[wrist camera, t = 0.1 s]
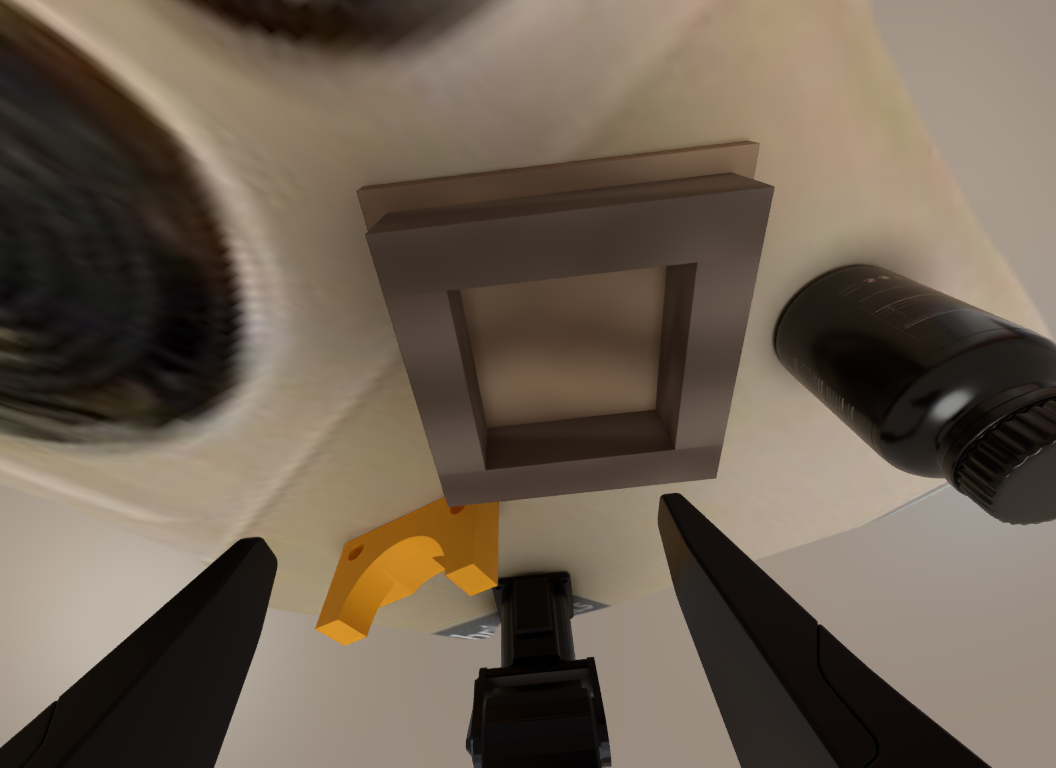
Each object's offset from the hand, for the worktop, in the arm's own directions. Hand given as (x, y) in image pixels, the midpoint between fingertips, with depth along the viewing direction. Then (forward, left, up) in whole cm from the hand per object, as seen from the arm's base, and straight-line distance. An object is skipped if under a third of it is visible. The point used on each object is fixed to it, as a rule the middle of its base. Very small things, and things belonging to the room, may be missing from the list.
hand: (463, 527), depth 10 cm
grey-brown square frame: (-3, -4, -15) cm, 15 cm away
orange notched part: (-18, +7, -15) cm, 25 cm away
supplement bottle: (-4, -19, -15) cm, 24 cm away
